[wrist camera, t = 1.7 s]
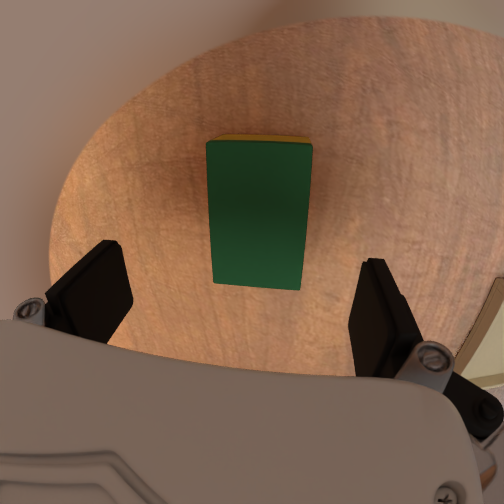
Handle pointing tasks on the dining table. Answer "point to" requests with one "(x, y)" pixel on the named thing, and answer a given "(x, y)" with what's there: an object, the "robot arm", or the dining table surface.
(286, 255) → the sponge
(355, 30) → the dining table surface
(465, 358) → the tray
